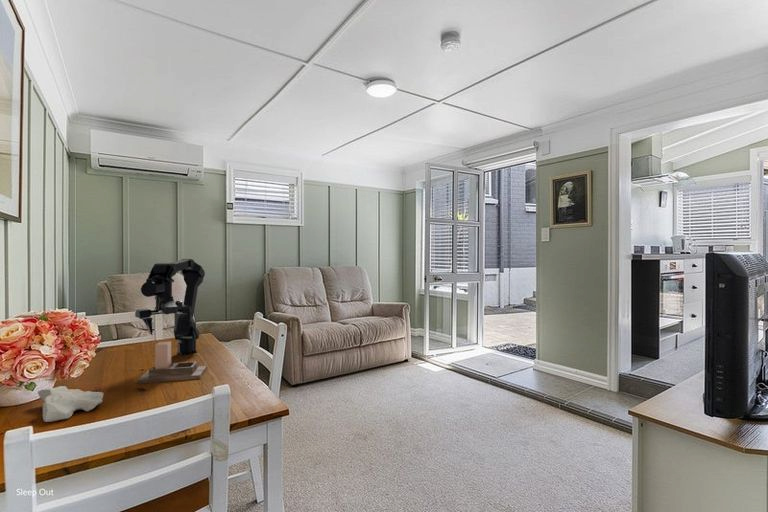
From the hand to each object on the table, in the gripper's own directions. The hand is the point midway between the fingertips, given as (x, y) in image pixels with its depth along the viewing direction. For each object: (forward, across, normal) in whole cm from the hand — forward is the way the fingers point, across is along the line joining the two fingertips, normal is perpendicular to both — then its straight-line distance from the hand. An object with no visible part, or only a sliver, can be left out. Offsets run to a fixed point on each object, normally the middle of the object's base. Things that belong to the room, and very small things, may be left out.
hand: (164, 332), depth 151 cm
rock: (+14, -34, -25) cm, 44 cm away
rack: (+13, -3, -18) cm, 22 cm away
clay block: (+12, -6, -16) cm, 21 cm away
